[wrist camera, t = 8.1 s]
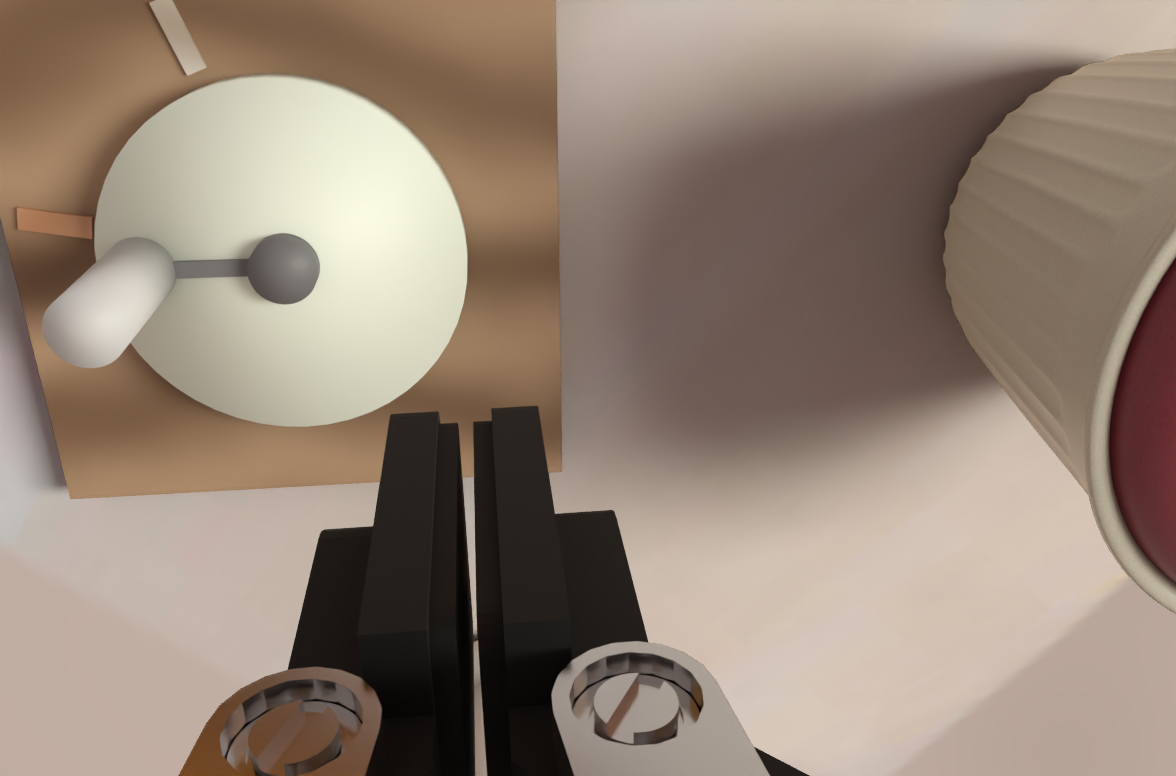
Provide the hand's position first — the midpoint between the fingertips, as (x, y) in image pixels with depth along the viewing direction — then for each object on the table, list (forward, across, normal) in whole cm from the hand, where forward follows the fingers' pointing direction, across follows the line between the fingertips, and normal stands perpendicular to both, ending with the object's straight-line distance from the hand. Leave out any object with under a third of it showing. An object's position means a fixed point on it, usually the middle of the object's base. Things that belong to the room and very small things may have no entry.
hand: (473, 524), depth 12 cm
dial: (+27, +7, +5) cm, 29 cm away
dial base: (+29, +7, +5) cm, 30 cm away
